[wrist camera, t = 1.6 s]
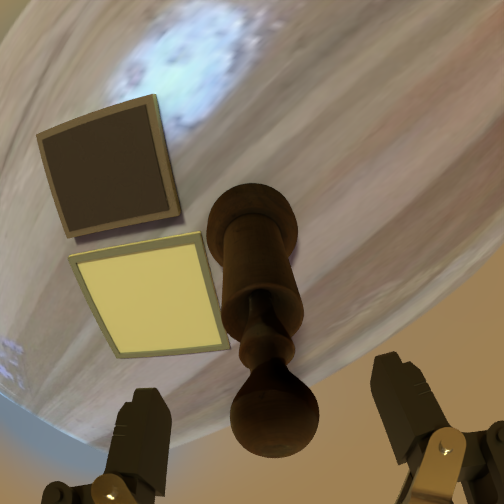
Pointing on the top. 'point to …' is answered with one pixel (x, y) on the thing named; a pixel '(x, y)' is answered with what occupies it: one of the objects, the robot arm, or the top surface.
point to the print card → (153, 296)
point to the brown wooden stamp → (262, 317)
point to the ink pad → (110, 168)
